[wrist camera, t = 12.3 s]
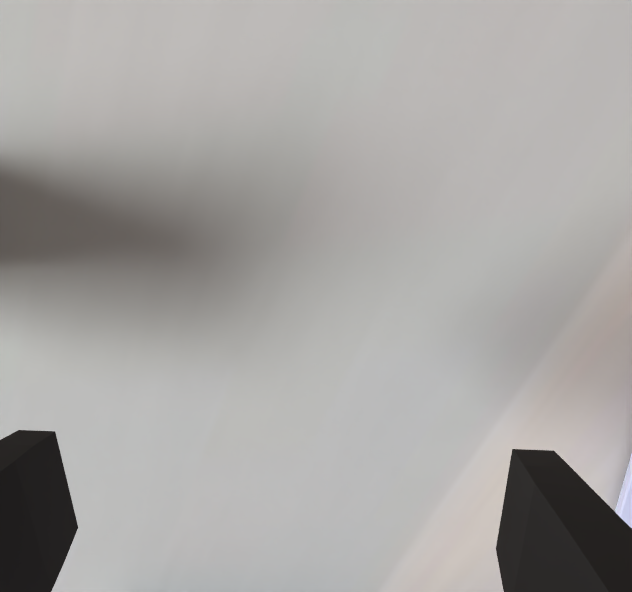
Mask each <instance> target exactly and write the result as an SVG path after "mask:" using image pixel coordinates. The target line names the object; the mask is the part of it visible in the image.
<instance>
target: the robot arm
mask: <svg viewBox="0 0 632 592" xmlns="http://www.w3.org/2000/svg"><path fill="white" fill-rule="evenodd" d="M77 529H78V525H77V521H76V517H75V513H74V509H73V504H72V500H71V496H70V492H69V488H68V484H67V479H66V475H65V471H64V467H63V463H62V459H61V454H60V450H59V446H58V442H57V438H56V433H55V432H53V431H27V430H18V431H16V432H15V433H13V434H11V435H9V436H7V437H5V438H3V439H2V440H0V592H51V591H52V588H53V586H54V584H55V582H56V579H57V577H58V575H59V573H60V570H61V568H62V566H63V563H64V561H65V559H66V556H67V554H68V551H69V549H70V546H71V544H72V541H73V539H74V536H75V534H76V531H77ZM496 551H497V556H498V562H499V568H500V573H501V579H502V584H503V589H504V592H632V454H631V458H630V461H629V465H628V468H627V472H626V475H625V479H624V482H623V486H622V489H621V492H620V496H619V499H618V503H617V506H616V510H615V512H614V511H613V510H612V509H611V508H610V507H609V506H608V505H607V504H606V503H605V502H604V501H603V500H602V499H601V498H600V497H599V496H598V495H597V494H596V493H595V492H594V491H593V490H592V489H591V488H590V487H589V485H588V484H587V483H586V482H585V481H584V480H583V479H582V478H581V477H580V476H579V475H578V474H577V473H576V472H575V471H574V470H573V469H572V468H571V467H570V466H569V465H568V464H567V463H566V462H565V461H564V460H563V459H562V458H561V457H560V456H559V455H558V454H557V453H556V452H554V451H545V450H519V449H512V455H511V461H510V467H509V473H508V479H507V486H506V492H505V498H504V504H503V510H502V516H501V522H500V528H499V534H498V540H497V546H496Z"/></svg>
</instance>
